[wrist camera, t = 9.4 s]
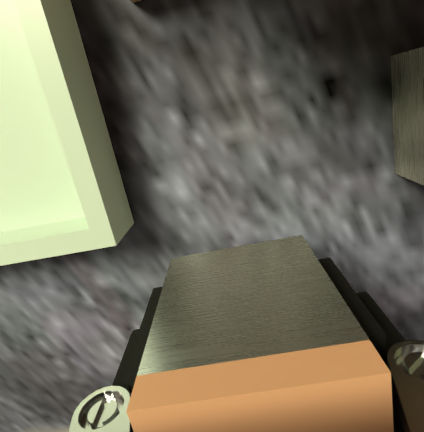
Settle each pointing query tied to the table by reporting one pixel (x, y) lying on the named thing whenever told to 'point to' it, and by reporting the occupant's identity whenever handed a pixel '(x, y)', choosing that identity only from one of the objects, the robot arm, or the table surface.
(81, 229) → the tray
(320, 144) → the table surface
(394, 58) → the block
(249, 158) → the table surface
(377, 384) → the block
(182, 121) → the table surface
